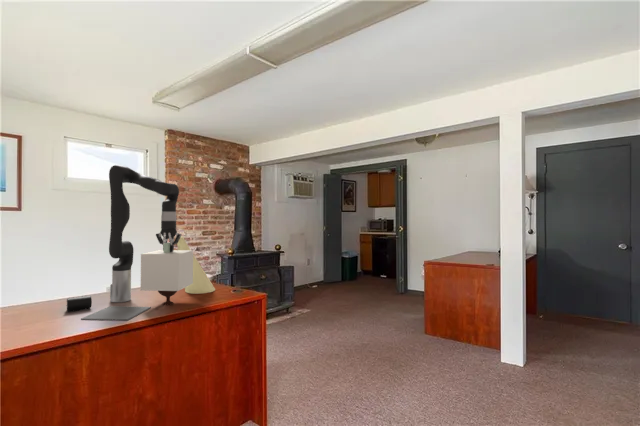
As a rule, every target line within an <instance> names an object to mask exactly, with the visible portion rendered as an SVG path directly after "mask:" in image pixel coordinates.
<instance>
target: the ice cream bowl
mask: <svg viewBox="0 0 640 426" xmlns="http://www.w3.org/2000/svg"><path fill="white" fill-rule="evenodd" d="M157 292H158V293H159V294H160V295H161V296H163V297H165V298H166V300H165V301H164V302H162V306H172V305H174V302H173V301H171V297H172V296H174V295H175V294H176V293H177V292H178V291H157Z"/></svg>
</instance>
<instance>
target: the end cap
mask: <svg viewBox="0 0 640 426" xmlns="http://www.w3.org/2000/svg"><path fill="white" fill-rule="evenodd" d="M92 301H93V300H92V296H91V295H84V296H83V295H82V296H78V297H68V298H67V299H66V311H67V312H68V313H72V312H77V311H85V310H90V309H91V308H92V303H93V302H92Z"/></svg>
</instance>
